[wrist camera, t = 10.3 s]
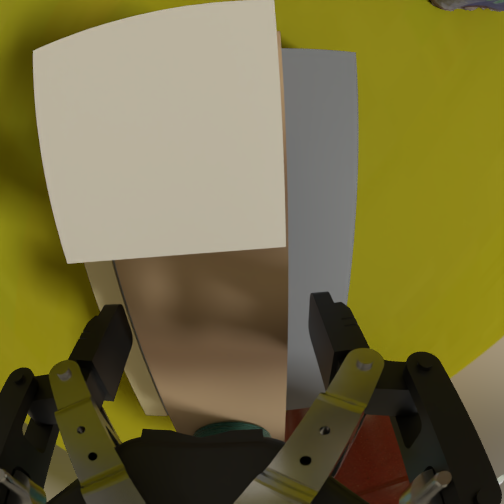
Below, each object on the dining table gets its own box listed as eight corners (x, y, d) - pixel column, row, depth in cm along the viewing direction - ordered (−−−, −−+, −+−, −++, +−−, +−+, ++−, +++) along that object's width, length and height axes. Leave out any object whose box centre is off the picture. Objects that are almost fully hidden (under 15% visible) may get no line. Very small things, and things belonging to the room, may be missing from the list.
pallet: (126, 71, 10) (83, 60, 7) (266, 55, 10) (279, 31, 7) (194, 409, 19) (190, 459, 15) (276, 405, 19) (283, 455, 16)
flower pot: (418, 327, 24) (507, 479, 9) (411, 417, 31) (454, 521, 16) (238, 387, 25) (245, 566, 11) (285, 458, 32) (300, 571, 18)
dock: (96, 88, 15) (52, 86, 10) (323, 66, 15) (356, 52, 10) (157, 366, 24) (146, 414, 19) (315, 356, 24) (329, 405, 19)
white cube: (112, 68, 7) (32, 50, 3) (256, 47, 7) (273, -1, 3) (128, 200, 9) (67, 263, 5) (264, 187, 9) (286, 246, 5)
